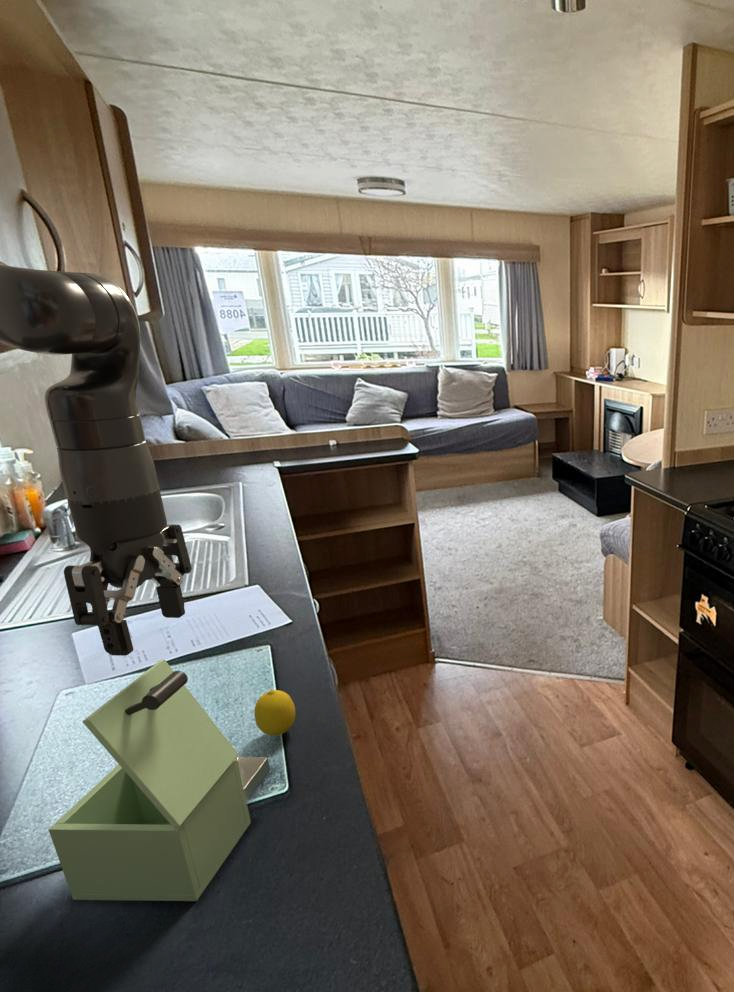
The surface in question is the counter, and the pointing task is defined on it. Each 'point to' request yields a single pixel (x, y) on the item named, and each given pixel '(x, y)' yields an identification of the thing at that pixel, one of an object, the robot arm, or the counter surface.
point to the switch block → (252, 773)
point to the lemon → (274, 712)
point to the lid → (163, 741)
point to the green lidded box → (147, 841)
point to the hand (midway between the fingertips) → (149, 634)
